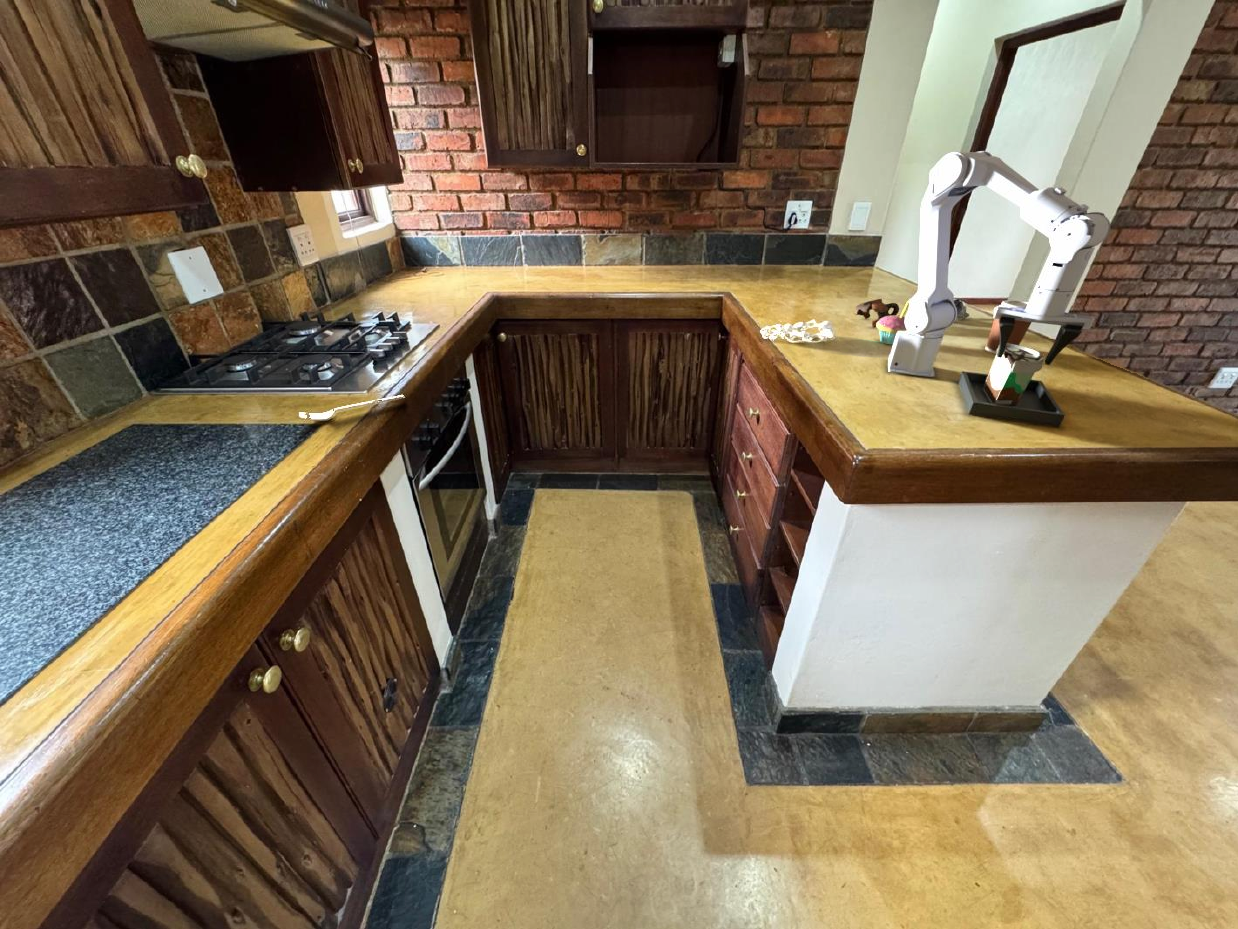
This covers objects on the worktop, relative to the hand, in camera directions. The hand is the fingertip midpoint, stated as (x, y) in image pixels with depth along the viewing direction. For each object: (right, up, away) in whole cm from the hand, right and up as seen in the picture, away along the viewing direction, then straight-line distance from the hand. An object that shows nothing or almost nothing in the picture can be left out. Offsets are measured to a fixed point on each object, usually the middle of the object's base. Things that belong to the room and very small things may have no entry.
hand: (1022, 359), depth 96 cm
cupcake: (-5, +13, +38) cm, 40 cm away
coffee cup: (+19, +9, +31) cm, 37 cm away
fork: (-135, -9, +7) cm, 136 cm away
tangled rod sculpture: (-29, +14, +41) cm, 52 cm away
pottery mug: (-2, +22, +52) cm, 56 cm away
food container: (0, -8, +5) cm, 9 cm away
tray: (0, -8, +5) cm, 9 cm away
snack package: (+22, +24, +54) cm, 64 cm away
